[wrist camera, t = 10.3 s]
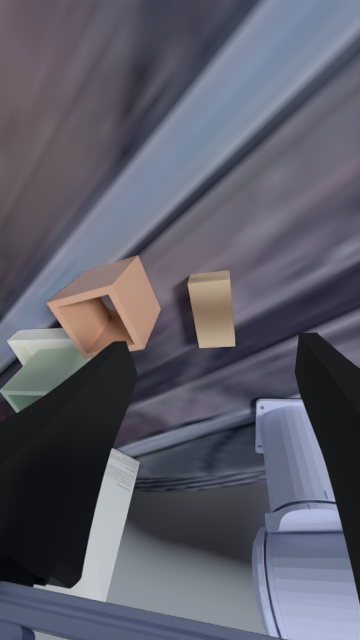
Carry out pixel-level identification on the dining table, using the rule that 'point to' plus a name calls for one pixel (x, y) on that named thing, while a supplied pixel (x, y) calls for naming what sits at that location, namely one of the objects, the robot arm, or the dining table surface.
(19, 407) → the pot green
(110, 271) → the pot terracotta
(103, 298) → the ball
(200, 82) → the dining table surface
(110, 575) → the skincare box
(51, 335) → the tray
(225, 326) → the cedar offcut
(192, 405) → the dining table surface
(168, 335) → the dining table surface
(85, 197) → the dining table surface
